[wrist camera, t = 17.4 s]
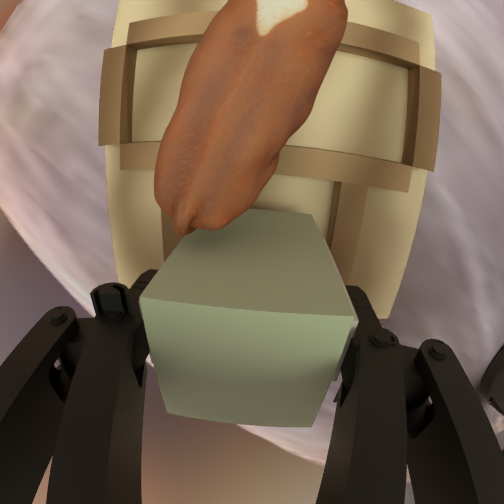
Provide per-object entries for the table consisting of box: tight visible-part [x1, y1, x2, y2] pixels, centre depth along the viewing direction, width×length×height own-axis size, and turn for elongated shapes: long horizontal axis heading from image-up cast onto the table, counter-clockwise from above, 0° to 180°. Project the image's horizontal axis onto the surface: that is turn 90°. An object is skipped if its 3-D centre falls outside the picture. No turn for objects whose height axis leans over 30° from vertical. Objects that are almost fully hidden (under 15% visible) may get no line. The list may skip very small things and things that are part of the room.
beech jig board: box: [99, 0, 441, 319], centre depth 14 cm, size 20×22×2 cm
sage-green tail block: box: [140, 209, 354, 427], centre depth 11 cm, size 5×5×8 cm
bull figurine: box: [154, 0, 348, 236], centre depth 8 cm, size 4×13×8 cm, turn 150°
